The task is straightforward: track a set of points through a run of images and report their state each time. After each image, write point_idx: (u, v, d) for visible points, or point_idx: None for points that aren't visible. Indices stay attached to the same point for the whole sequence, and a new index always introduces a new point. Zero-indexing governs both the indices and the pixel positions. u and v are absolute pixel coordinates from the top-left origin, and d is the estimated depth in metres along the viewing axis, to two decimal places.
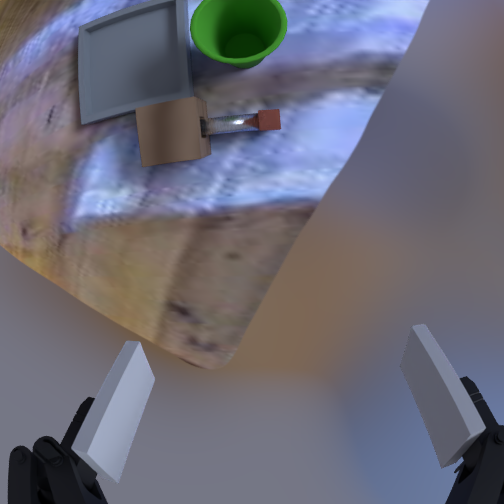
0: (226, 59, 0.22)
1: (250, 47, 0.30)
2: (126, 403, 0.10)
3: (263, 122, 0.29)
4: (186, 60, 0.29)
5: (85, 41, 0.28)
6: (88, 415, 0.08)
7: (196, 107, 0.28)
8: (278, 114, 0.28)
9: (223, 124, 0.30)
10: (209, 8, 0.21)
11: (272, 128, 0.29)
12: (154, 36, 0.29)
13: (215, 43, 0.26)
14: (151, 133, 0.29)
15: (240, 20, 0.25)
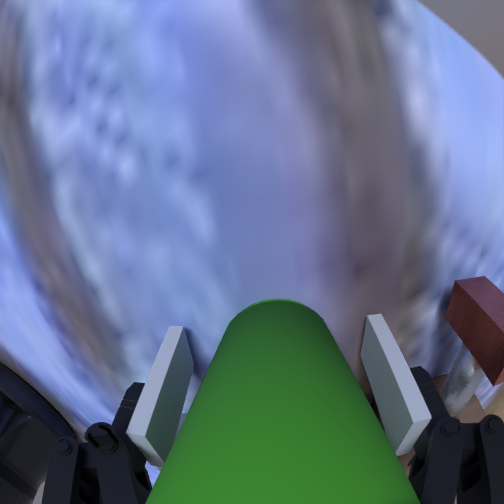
0: None
1: None
2: (174, 386, 0.12)
3: None
4: None
5: None
6: (141, 398, 0.10)
7: None
8: None
9: (462, 407, 0.11)
10: None
11: None
12: None
13: None
14: None
15: None
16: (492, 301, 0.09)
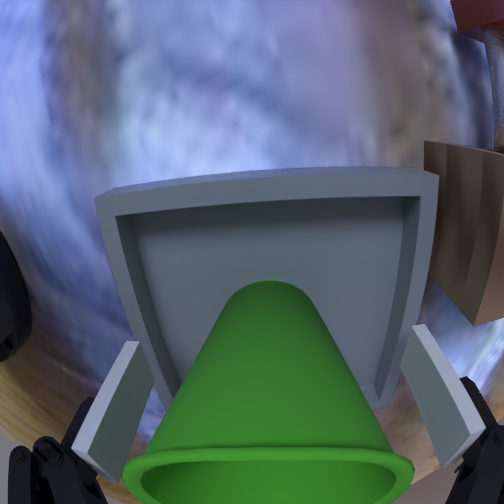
0: (380, 503, 0.06)
1: None
2: (126, 403, 0.10)
3: None
4: (335, 175, 0.12)
5: None
6: (88, 415, 0.08)
7: None
8: None
9: None
10: (206, 500, 0.09)
11: None
12: (224, 266, 0.15)
13: None
14: None
15: None
16: None
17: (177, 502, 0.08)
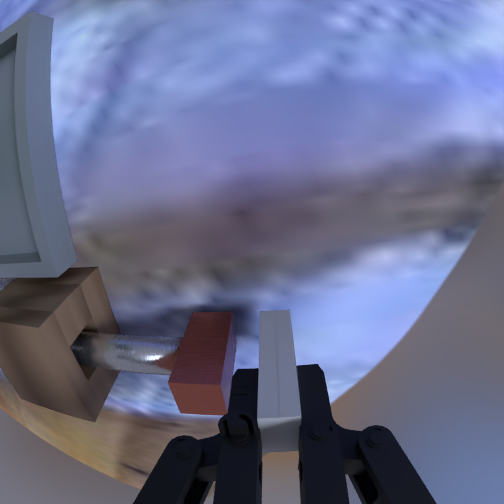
0: None
1: None
2: None
3: (185, 402, 0.11)
4: (34, 188, 0.12)
5: None
6: (260, 382, 0.10)
7: (52, 344, 0.11)
8: (219, 393, 0.11)
9: (111, 364, 0.13)
10: None
11: (208, 413, 0.11)
12: None
13: None
14: (8, 364, 0.12)
15: None
16: (230, 352, 0.14)
17: None
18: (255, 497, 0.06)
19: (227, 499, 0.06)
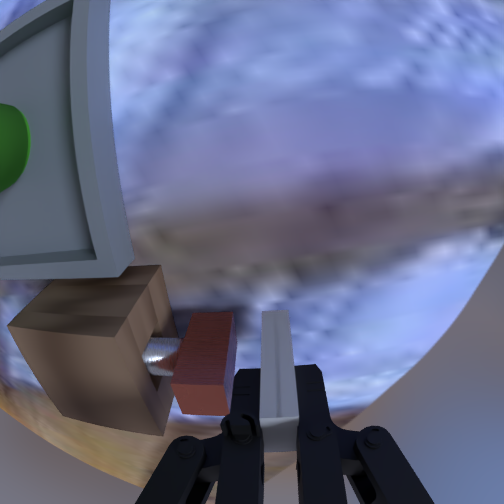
0: None
1: None
2: None
3: (187, 403, 0.11)
4: (95, 174, 0.12)
5: None
6: (262, 382, 0.10)
7: (127, 355, 0.11)
8: (222, 393, 0.11)
9: None
10: None
11: (210, 413, 0.11)
12: (39, 96, 0.11)
13: None
14: (53, 379, 0.11)
15: None
16: (231, 352, 0.14)
17: None
18: (257, 497, 0.06)
19: (229, 499, 0.06)
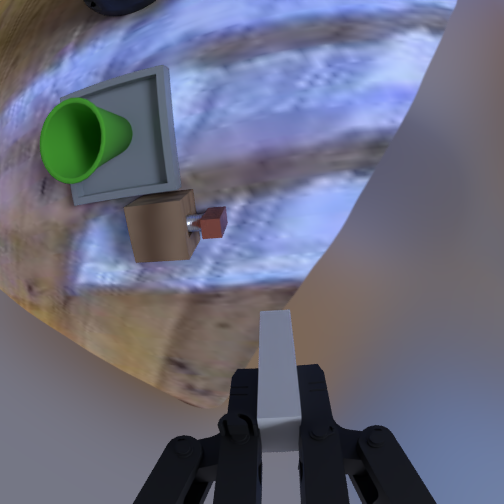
0: (66, 180, 0.25)
1: None
2: None
3: (205, 231, 0.32)
4: (170, 148, 0.33)
5: None
6: (260, 382, 0.10)
7: (182, 210, 0.32)
8: (219, 223, 0.32)
9: None
10: (54, 123, 0.24)
11: (214, 236, 0.32)
12: (137, 114, 0.32)
13: (79, 142, 0.29)
14: (141, 233, 0.33)
15: None
16: (224, 218, 0.35)
17: (57, 113, 0.23)
18: (255, 497, 0.06)
19: (227, 499, 0.06)
